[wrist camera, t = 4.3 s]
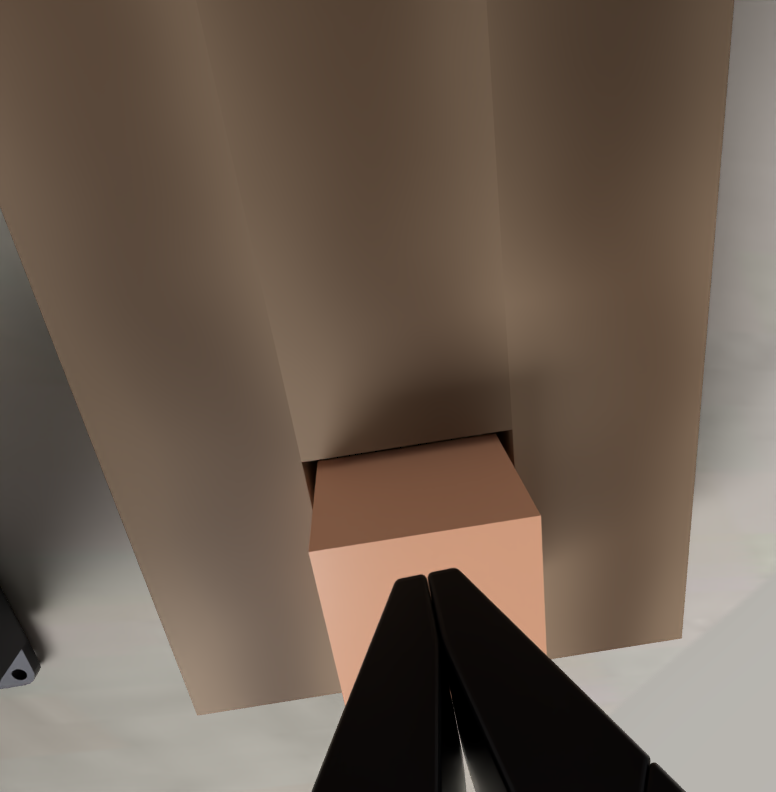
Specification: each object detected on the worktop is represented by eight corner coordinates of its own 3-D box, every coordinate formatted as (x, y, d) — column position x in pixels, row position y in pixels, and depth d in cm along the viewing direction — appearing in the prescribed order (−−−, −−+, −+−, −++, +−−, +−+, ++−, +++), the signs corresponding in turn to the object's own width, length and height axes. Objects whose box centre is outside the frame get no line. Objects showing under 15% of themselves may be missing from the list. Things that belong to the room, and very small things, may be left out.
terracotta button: (347, 600, 15) (347, 715, 12) (317, 461, 14) (308, 551, 10) (506, 575, 15) (548, 684, 12) (495, 433, 14) (540, 515, 10)
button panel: (225, 612, 20) (197, 715, 16) (-152, -540, 10) (-460, -978, 6) (618, 550, 20) (681, 638, 16) (647, -653, 10) (829, -1151, 6)
